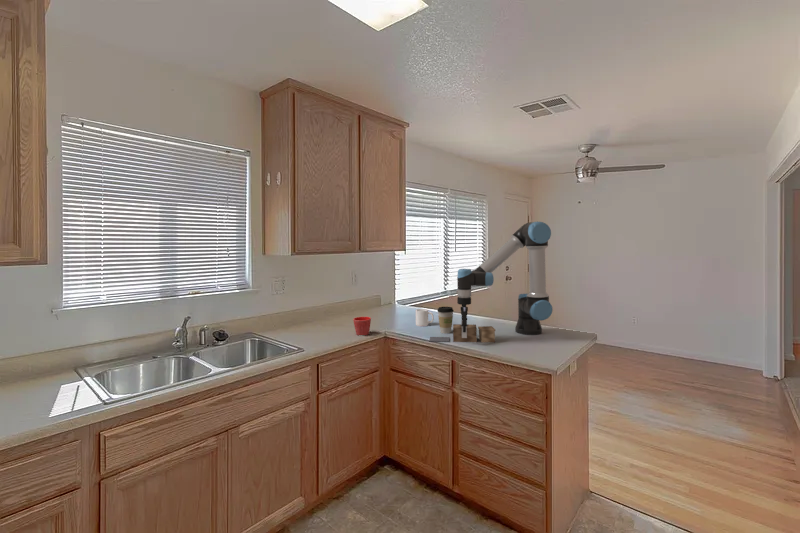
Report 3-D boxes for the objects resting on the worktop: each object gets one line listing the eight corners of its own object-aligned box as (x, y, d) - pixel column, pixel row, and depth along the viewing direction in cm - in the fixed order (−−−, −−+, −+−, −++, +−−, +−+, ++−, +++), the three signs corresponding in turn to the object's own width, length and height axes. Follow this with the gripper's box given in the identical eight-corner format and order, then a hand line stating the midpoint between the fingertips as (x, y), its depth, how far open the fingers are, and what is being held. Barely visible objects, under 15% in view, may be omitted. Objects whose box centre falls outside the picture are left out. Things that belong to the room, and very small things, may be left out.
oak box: (491, 338, 215) (491, 326, 214) (495, 342, 207) (495, 329, 207) (478, 338, 215) (478, 326, 214) (481, 342, 207) (481, 329, 207)
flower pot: (354, 337, 225) (354, 320, 225) (353, 332, 236) (352, 317, 235) (372, 335, 227) (372, 319, 227) (370, 331, 238) (369, 316, 237)
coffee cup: (453, 334, 225) (453, 309, 224) (436, 334, 227) (436, 309, 226) (454, 330, 235) (454, 306, 234) (438, 330, 237) (438, 306, 236)
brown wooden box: (475, 338, 216) (475, 322, 215) (476, 342, 208) (476, 325, 207) (453, 338, 217) (453, 322, 217) (453, 341, 210) (453, 325, 209)
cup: (417, 323, 257) (417, 308, 256) (435, 324, 253) (434, 309, 252) (414, 326, 249) (414, 311, 248) (432, 327, 245) (432, 311, 244)
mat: (449, 337, 218) (449, 337, 218) (449, 342, 210) (449, 341, 210) (430, 337, 220) (430, 336, 220) (429, 341, 211) (429, 341, 211)
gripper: (457, 293, 224) (457, 329, 225) (457, 300, 199) (457, 340, 201) (470, 293, 223) (470, 329, 224) (472, 300, 198) (471, 340, 200)
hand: (464, 334), depth 213 cm, fingers open, 13 cm apart
